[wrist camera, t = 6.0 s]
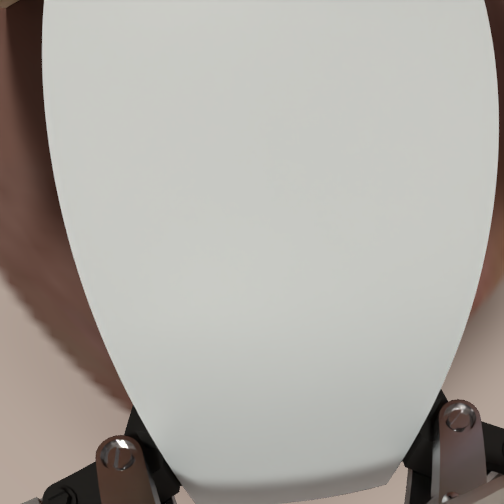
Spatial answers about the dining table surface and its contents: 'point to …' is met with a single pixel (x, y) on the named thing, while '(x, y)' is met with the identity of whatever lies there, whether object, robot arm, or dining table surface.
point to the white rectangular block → (275, 222)
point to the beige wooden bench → (7, 3)
